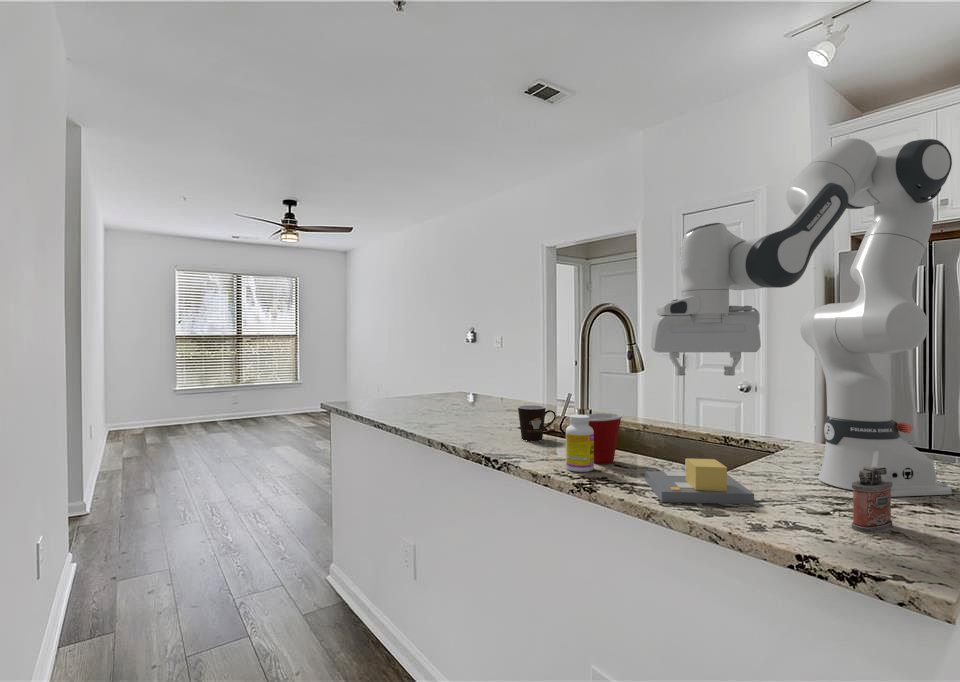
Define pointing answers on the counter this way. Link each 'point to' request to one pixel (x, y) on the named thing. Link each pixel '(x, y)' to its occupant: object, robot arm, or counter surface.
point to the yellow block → (706, 474)
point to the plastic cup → (605, 436)
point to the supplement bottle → (579, 444)
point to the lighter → (872, 501)
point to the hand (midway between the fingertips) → (704, 375)
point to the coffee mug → (533, 421)
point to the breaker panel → (679, 490)
